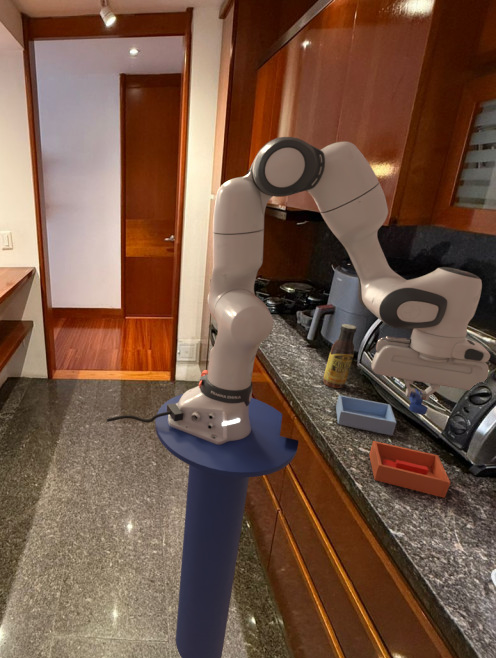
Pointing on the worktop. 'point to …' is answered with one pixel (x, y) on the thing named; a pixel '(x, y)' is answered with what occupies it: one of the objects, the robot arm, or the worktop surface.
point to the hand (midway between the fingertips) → (416, 397)
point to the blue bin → (365, 415)
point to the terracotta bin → (430, 483)
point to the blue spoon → (417, 404)
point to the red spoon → (406, 466)
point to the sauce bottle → (340, 358)
